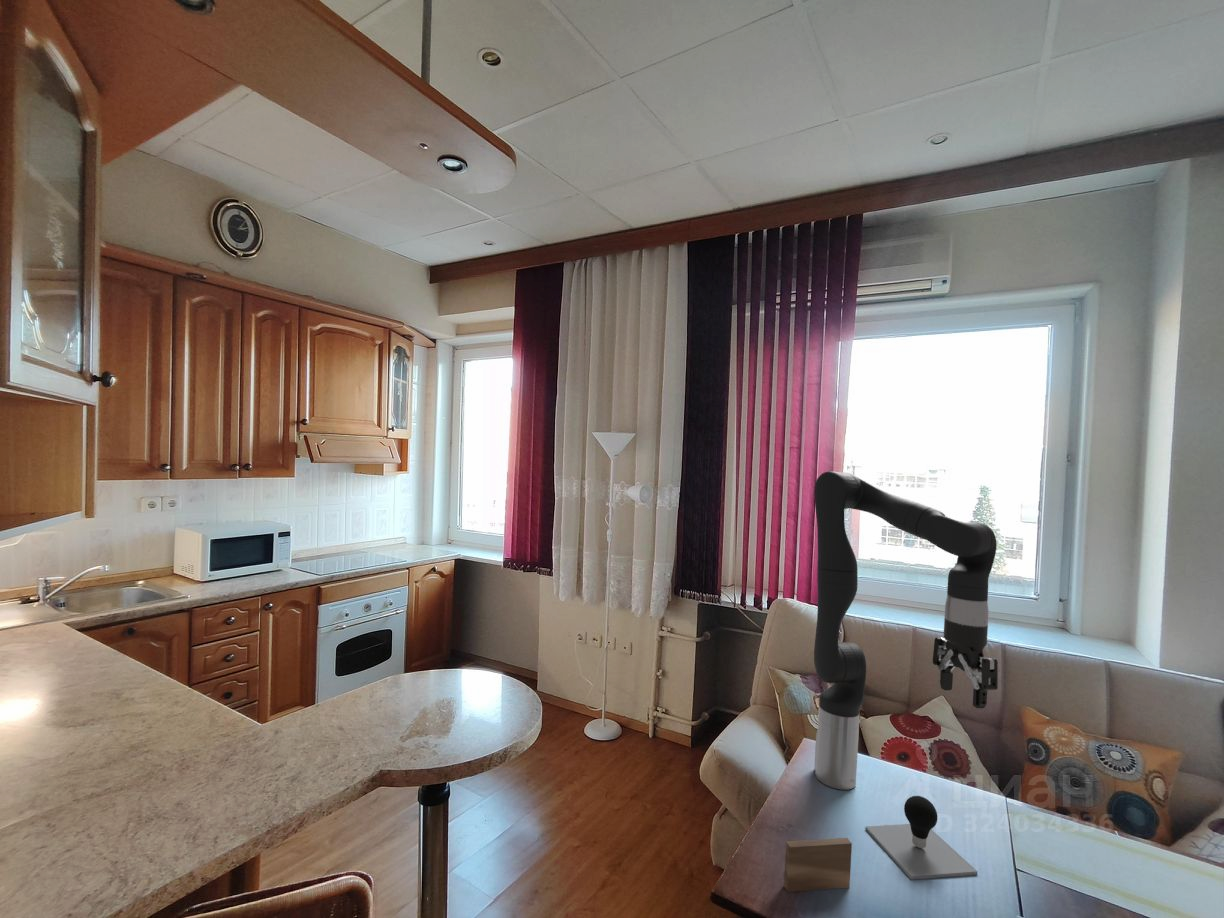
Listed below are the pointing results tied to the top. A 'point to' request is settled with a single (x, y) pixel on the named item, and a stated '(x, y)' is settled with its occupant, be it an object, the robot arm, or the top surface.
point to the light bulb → (920, 819)
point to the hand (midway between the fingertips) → (961, 698)
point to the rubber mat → (920, 853)
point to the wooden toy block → (817, 864)
